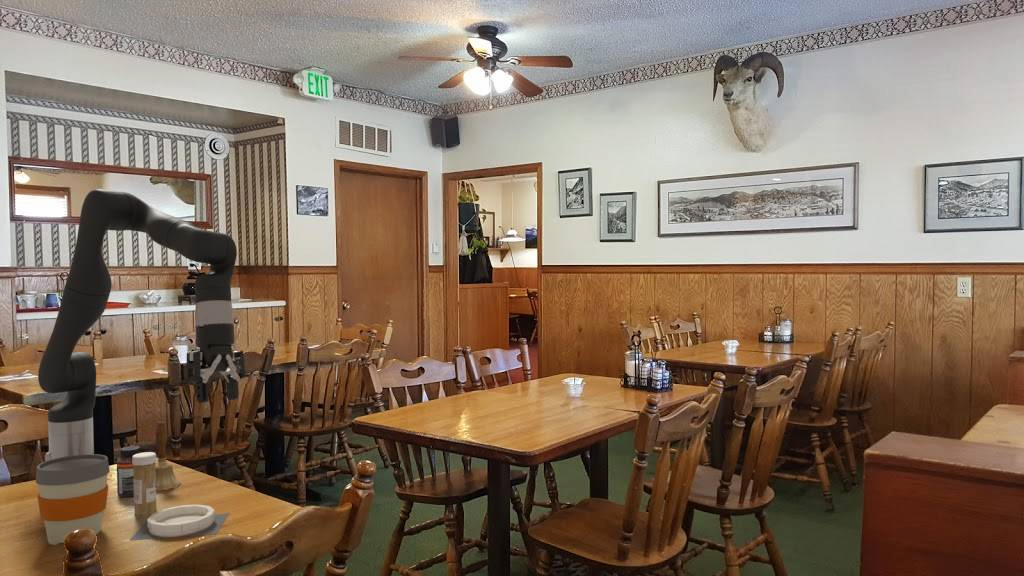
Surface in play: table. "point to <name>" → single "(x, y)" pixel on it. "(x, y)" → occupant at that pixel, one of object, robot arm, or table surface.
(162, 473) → the hand bell
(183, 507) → the white round tray
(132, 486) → the supplement bottle
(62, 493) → the reusable coffee cup
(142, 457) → the sprinkles bottle
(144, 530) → the mat
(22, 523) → the table surface
